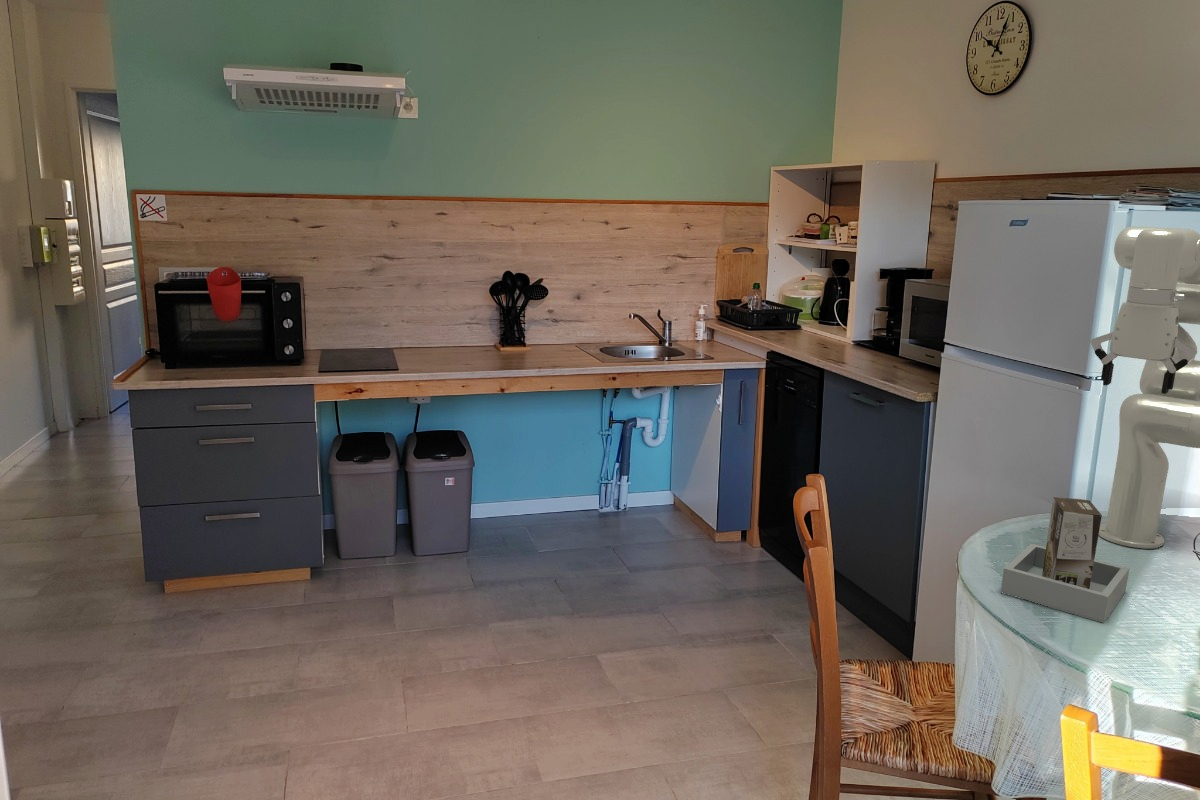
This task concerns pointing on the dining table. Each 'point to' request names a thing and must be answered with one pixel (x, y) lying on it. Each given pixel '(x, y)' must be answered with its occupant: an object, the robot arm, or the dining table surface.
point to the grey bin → (1065, 586)
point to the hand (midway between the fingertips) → (1135, 388)
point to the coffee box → (1072, 541)
